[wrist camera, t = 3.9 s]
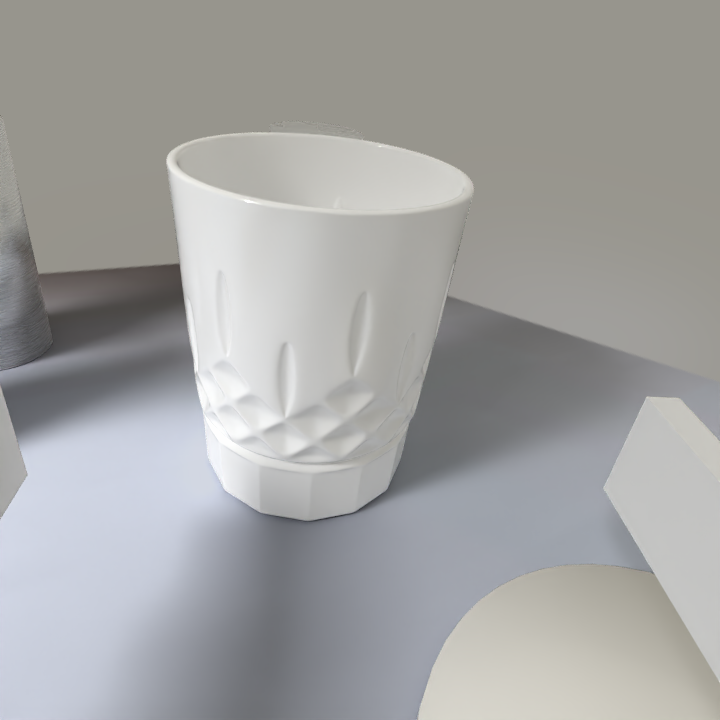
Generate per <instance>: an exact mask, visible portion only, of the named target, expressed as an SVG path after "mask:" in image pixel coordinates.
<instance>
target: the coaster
mask: <svg viewBox="0 0 720 720" xmlns="http://www.w3.org/2000/svg"><path fill="white" fill-rule="evenodd" d="M417 720H720V682H719V681H718V679H717V677H716V676H715V674H714V672H713V671H712V669H711V667H710V666H709V664H708V662H707V661H706V659H705V657H704V656H703V654H702V652H701V651H700V649H699V647H698V646H697V644H696V642H695V641H694V639H693V637H692V636H691V634H690V632H689V631H688V629H687V627H686V626H685V624H684V622H683V621H682V619H681V617H680V616H679V614H678V612H677V611H676V609H675V607H674V606H673V604H672V602H671V601H670V599H669V597H668V596H667V594H666V592H665V590H664V589H663V587H662V585H661V584H660V582H659V580H658V579H657V577H656V575H655V574H653V573H649V572H646V571H641V570H635V569H630V568H625V567H619V566H609V565H597V564H579V565H563V566H557V567H551V568H545V569H540V570H537V571H534V572H531V573H528V574H525V575H521V576H519V577H517V578H515V579H513V580H511V581H509V582H507V583H505V584H503V585H501V586H499V587H497V588H496V589H494V590H493V591H492V592H490V593H489V594H487V595H486V596H485V597H483V598H482V599H481V600H479V601H478V602H477V603H476V604H475V605H474V606H473V607H472V608H471V609H470V610H469V611H468V612H467V613H466V614H465V615H464V616H463V617H462V618H461V620H460V621H459V623H458V624H457V625H456V627H455V628H454V630H453V631H452V632H451V634H450V635H449V637H448V638H447V640H446V641H445V643H444V645H443V647H442V649H441V651H440V653H439V655H438V657H437V659H436V661H435V663H434V665H433V668H432V671H431V674H430V677H429V680H428V683H427V686H426V689H425V693H424V696H423V699H422V702H421V705H420V708H419V711H418V716H417Z"/></svg>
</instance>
